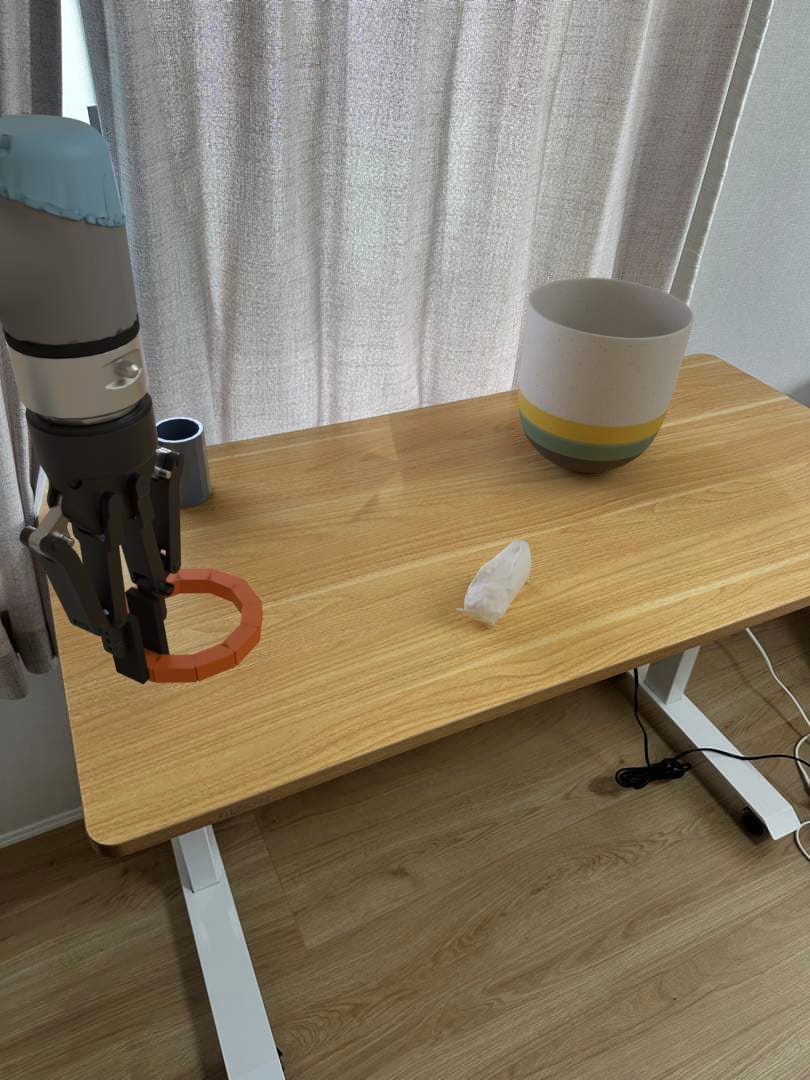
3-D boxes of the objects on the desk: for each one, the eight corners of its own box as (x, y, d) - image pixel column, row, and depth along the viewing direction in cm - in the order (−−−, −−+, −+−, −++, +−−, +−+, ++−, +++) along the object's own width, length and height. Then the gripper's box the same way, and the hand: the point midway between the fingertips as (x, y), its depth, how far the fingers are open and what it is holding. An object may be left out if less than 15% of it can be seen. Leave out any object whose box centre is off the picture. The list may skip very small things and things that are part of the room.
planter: (676, 495, 103) (722, 337, 90) (527, 502, 100) (553, 340, 87) (624, 421, 118) (657, 276, 105) (494, 425, 116) (511, 277, 103)
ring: (77, 649, 66) (74, 635, 65) (175, 566, 75) (173, 553, 74) (201, 704, 62) (199, 690, 61) (289, 609, 71) (288, 596, 70)
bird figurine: (482, 578, 90) (450, 614, 82) (504, 527, 87) (473, 559, 78) (521, 599, 89) (493, 637, 80) (545, 548, 86) (518, 583, 77)
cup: (150, 498, 98) (138, 433, 92) (183, 475, 102) (173, 412, 97) (190, 513, 96) (180, 447, 90) (221, 488, 100) (213, 425, 95)
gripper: (40, 469, 43) (113, 749, 57) (211, 368, 54) (238, 626, 68) (-58, 432, 46) (36, 710, 60) (125, 343, 57) (168, 596, 71)
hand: (143, 665), depth 64 cm, fingers closed on ring, 2 cm apart
